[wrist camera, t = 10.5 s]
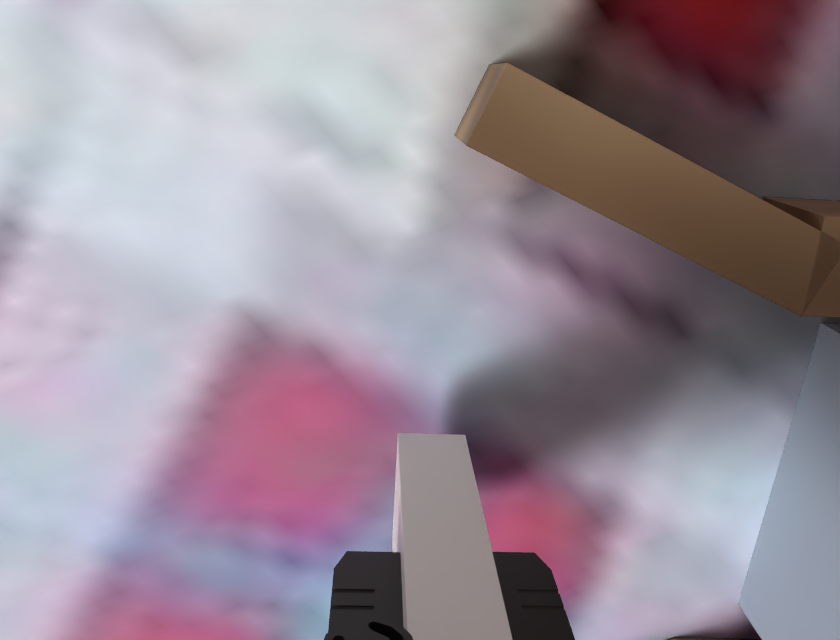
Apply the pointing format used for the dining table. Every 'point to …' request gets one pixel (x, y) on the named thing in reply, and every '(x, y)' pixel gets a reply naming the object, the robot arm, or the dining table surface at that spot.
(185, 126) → the dining table surface
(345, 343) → the dining table surface
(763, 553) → the grey rectangular block
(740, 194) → the brown angular open frame
